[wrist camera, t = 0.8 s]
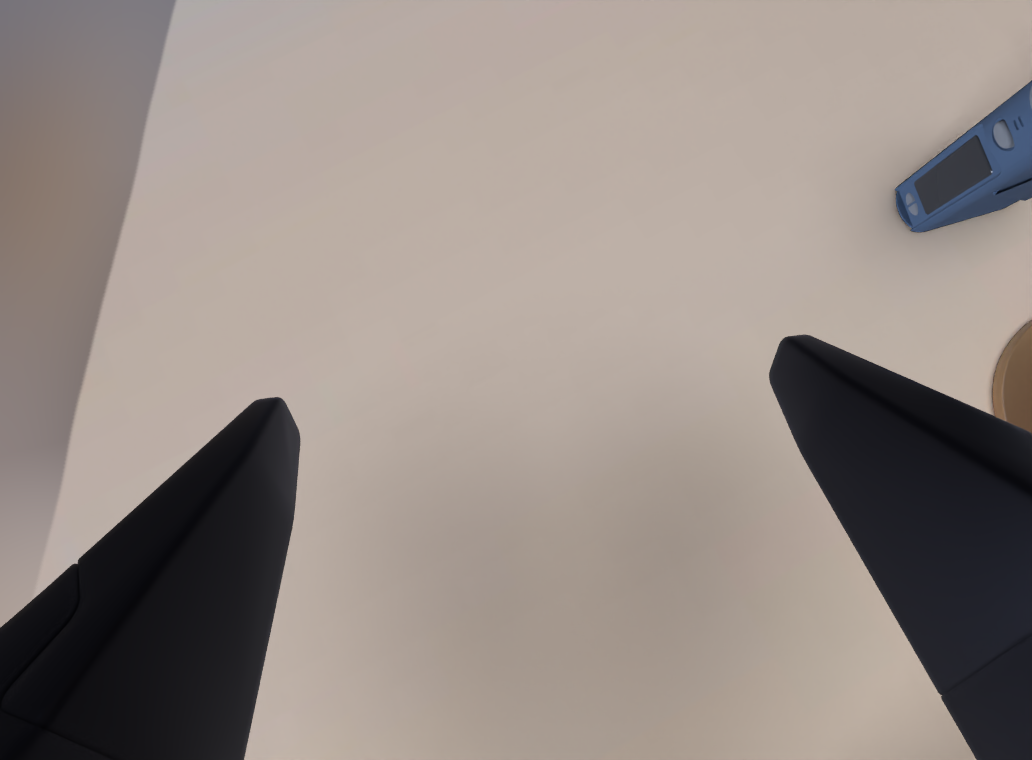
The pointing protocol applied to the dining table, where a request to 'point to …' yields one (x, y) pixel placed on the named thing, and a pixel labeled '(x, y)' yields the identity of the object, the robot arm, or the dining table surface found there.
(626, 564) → the dining table surface
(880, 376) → the robot arm
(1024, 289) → the dining table surface
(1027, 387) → the round bronze-colored metal disc
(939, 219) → the vaping device
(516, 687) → the dining table surface
